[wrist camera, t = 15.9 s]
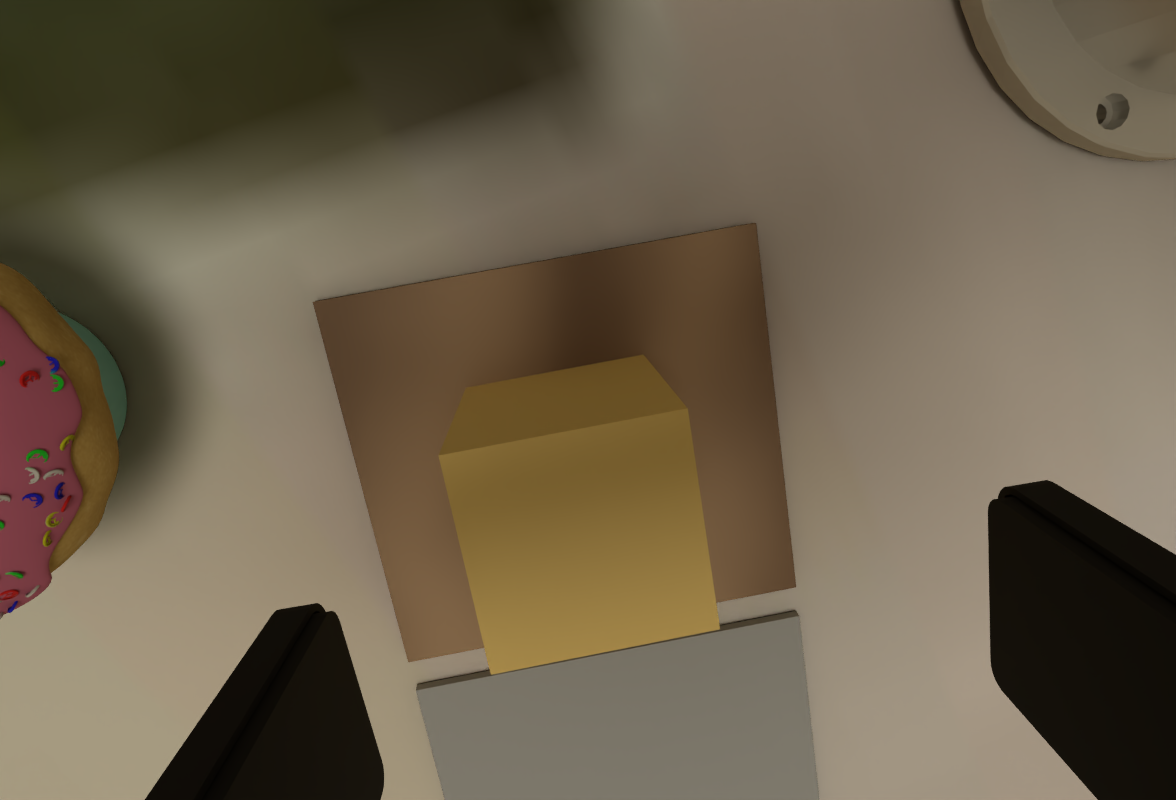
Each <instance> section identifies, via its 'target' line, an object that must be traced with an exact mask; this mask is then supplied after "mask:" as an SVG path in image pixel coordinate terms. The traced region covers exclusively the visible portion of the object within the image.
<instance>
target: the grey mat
mask: <svg viewBox="0 0 1176 800" xmlns="http://www.w3.org/2000/svg"><path fill="white" fill-rule="evenodd" d="M416 693H417V697H418V700H419V704H420V708H421V712H422V715H423V719H424V723H425V727H426V731H427V734H428V738H429V742H430V746H431V749H432V753H433V757H434V761H435V764H436V768H437V772H438V776H439V780H440V783H441V787H442V791H443V795H444V798H445V800H819V791H818V782H817V772H816V763H815V754H814V745H813V736H812V727H811V718H810V709H809V700H808V691H807V682H806V673H805V663H804V654H803V645H802V636H801V627H800V618H799V615H798V613H797V612H796V611H793V612H788V613H783V614H777V615H772V616H767V617H762V618H757V619H752V620H747V621H741V622H736V623H731V624H726V625H721V626H720V629H719V630H714V631H709V632H704V633H699V634H694V635H689V636H684V637H679V638H674V639H669V640H664V641H659V642H654V643H649V644H644V645H639V646H634V647H628V648H623V649H618V650H613V651H608V652H603V653H598V654H593V655H588V656H583V657H578V658H573V659H568V660H563V661H558V662H553V663H548V664H543V665H538V666H533V667H528V668H523V669H518V670H513V671H508V672H503V673H498V674H493V675H491V673H490V670H489V671H484V672H479V673H474V674H469V675H464V676H459V677H453V678H448V679H443V680H438V681H433V682H428V683H423V684H417V688H416Z"/></svg>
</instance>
